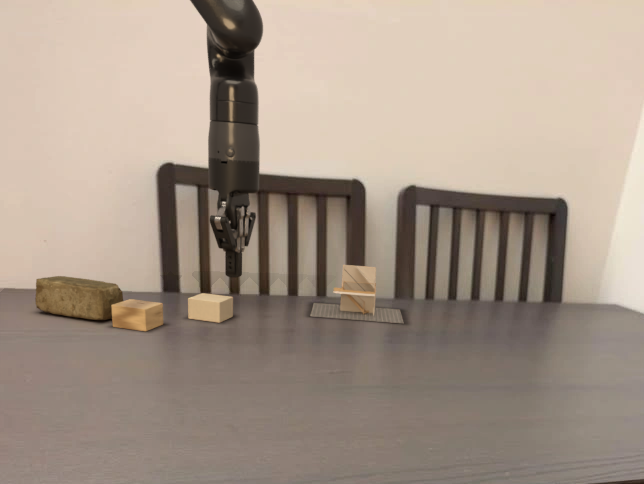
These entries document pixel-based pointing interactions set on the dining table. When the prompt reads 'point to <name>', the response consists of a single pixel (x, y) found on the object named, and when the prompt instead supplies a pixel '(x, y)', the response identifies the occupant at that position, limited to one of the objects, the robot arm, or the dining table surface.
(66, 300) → the stone block
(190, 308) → the cream block
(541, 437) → the dining table surface
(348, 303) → the architectural model
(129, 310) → the birch block
